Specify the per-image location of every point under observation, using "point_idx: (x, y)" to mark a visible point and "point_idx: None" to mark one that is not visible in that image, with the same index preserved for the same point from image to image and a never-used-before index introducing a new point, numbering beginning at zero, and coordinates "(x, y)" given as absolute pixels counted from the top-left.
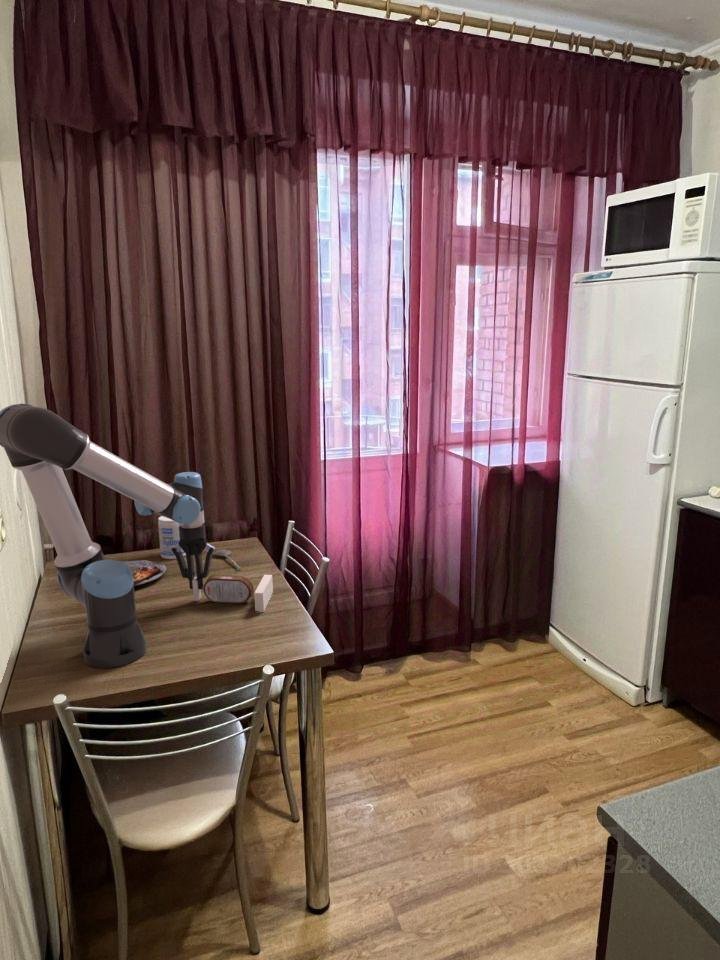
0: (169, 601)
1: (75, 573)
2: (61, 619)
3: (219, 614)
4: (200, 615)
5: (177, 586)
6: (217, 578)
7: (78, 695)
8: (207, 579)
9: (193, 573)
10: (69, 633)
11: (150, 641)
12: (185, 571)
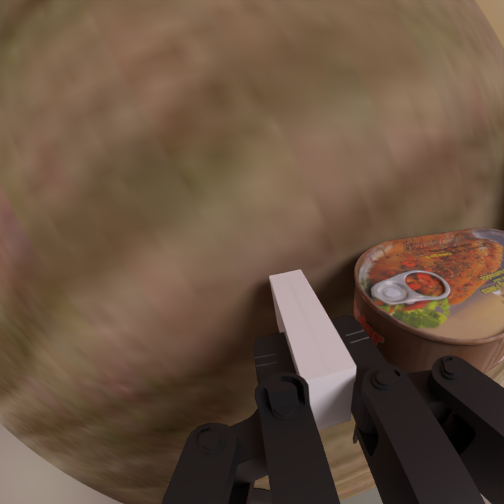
0: (126, 318)
1: None
2: (8, 415)
3: None
4: None
5: (49, 121)
6: (492, 367)
7: None
8: (418, 336)
9: (309, 438)
10: (76, 462)
11: (265, 483)
12: (207, 474)
